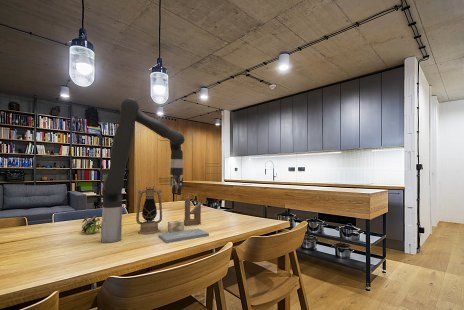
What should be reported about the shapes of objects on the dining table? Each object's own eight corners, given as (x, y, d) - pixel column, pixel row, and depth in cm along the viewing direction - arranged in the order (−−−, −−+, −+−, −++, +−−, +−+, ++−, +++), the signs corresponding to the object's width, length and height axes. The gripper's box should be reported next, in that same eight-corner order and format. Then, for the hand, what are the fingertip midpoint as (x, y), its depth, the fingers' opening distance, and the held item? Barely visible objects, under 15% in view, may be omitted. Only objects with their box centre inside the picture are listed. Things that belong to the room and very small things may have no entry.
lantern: (135, 235, 135) (136, 181, 137) (136, 230, 147) (137, 180, 148) (162, 233, 140) (163, 181, 142) (161, 228, 151) (162, 180, 153)
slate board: (166, 243, 121) (166, 240, 121) (158, 237, 132) (158, 234, 132) (208, 235, 134) (208, 233, 135) (198, 231, 145) (198, 228, 145)
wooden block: (200, 224, 163) (201, 197, 164) (185, 226, 158) (185, 198, 159) (198, 223, 166) (199, 196, 167) (183, 225, 161) (183, 197, 162)
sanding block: (170, 234, 139) (170, 223, 139) (167, 232, 143) (167, 221, 143) (183, 232, 143) (184, 221, 144) (180, 230, 147) (180, 220, 148)
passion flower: (85, 241, 141) (85, 222, 148) (105, 236, 145) (105, 218, 151) (77, 235, 133) (78, 215, 139) (99, 229, 136) (99, 210, 142)
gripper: (166, 167, 149) (166, 193, 148) (175, 166, 137) (174, 195, 136) (178, 167, 153) (177, 193, 152) (187, 167, 142) (187, 195, 141)
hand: (176, 194), depth 144 cm, fingers open, 8 cm apart
